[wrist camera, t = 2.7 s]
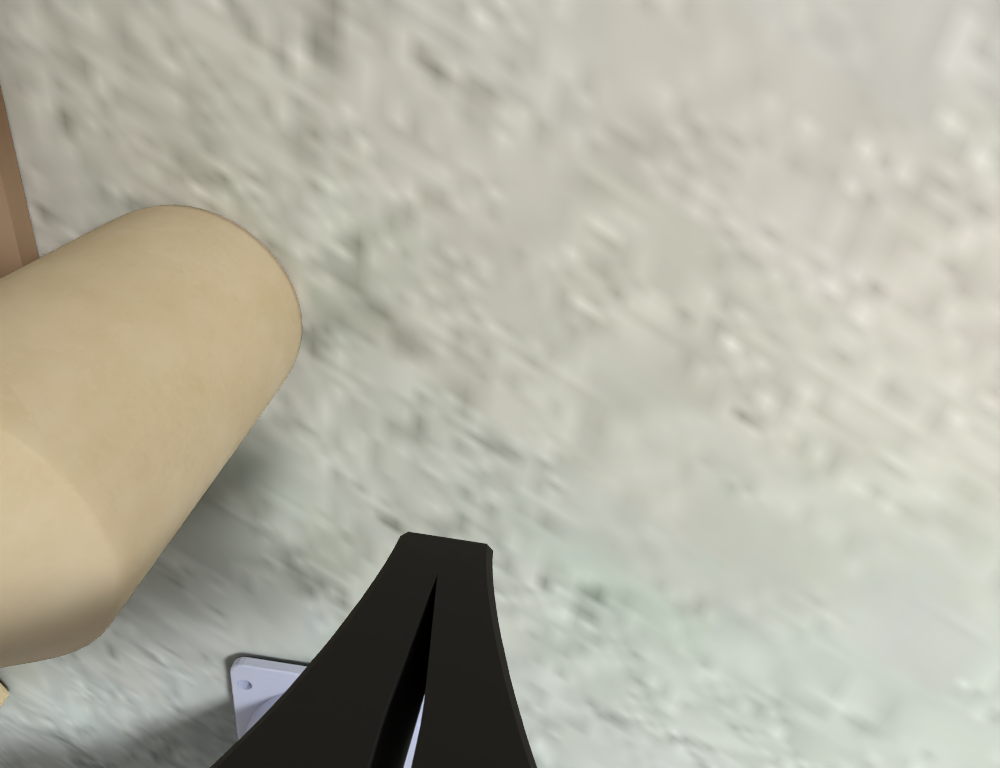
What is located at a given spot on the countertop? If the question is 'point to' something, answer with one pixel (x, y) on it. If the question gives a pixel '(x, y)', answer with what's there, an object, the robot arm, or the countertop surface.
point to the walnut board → (13, 207)
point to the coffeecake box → (3, 694)
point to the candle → (124, 407)
